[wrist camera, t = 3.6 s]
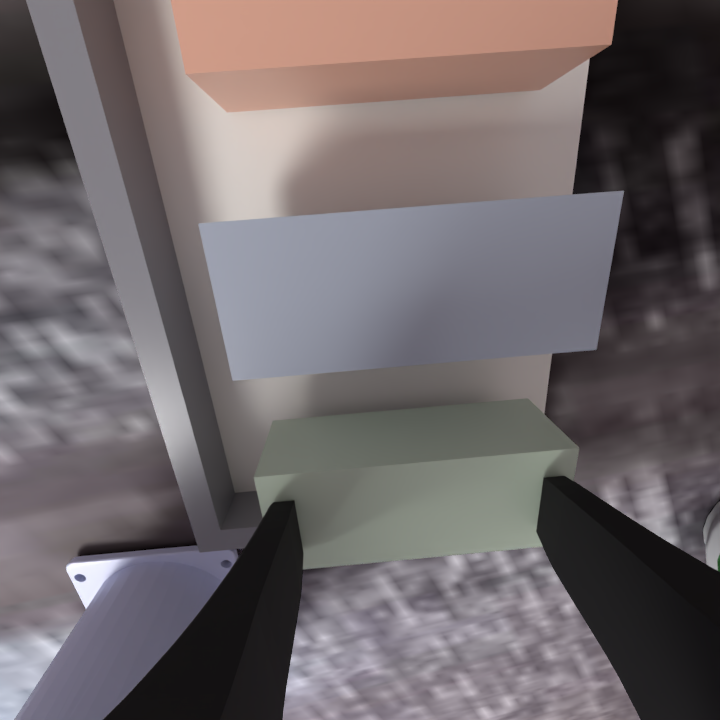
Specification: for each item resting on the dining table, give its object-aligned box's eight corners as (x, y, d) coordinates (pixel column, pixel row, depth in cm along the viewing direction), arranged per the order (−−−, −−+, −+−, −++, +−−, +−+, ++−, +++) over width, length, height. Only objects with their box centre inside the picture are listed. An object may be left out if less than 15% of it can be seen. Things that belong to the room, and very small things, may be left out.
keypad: (522, 466, 17) (563, 522, 14) (224, 493, 17) (197, 557, 14) (587, -119, 10) (699, -272, 7) (73, -88, 10) (-55, -232, 7)
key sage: (519, 480, 14) (562, 544, 11) (287, 501, 14) (274, 572, 11) (527, 398, 13) (579, 448, 10) (272, 420, 13) (253, 477, 10)
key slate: (536, 318, 12) (596, 349, 9) (258, 341, 12) (232, 380, 9) (549, 197, 11) (623, 190, 8) (236, 221, 10) (198, 223, 8)
